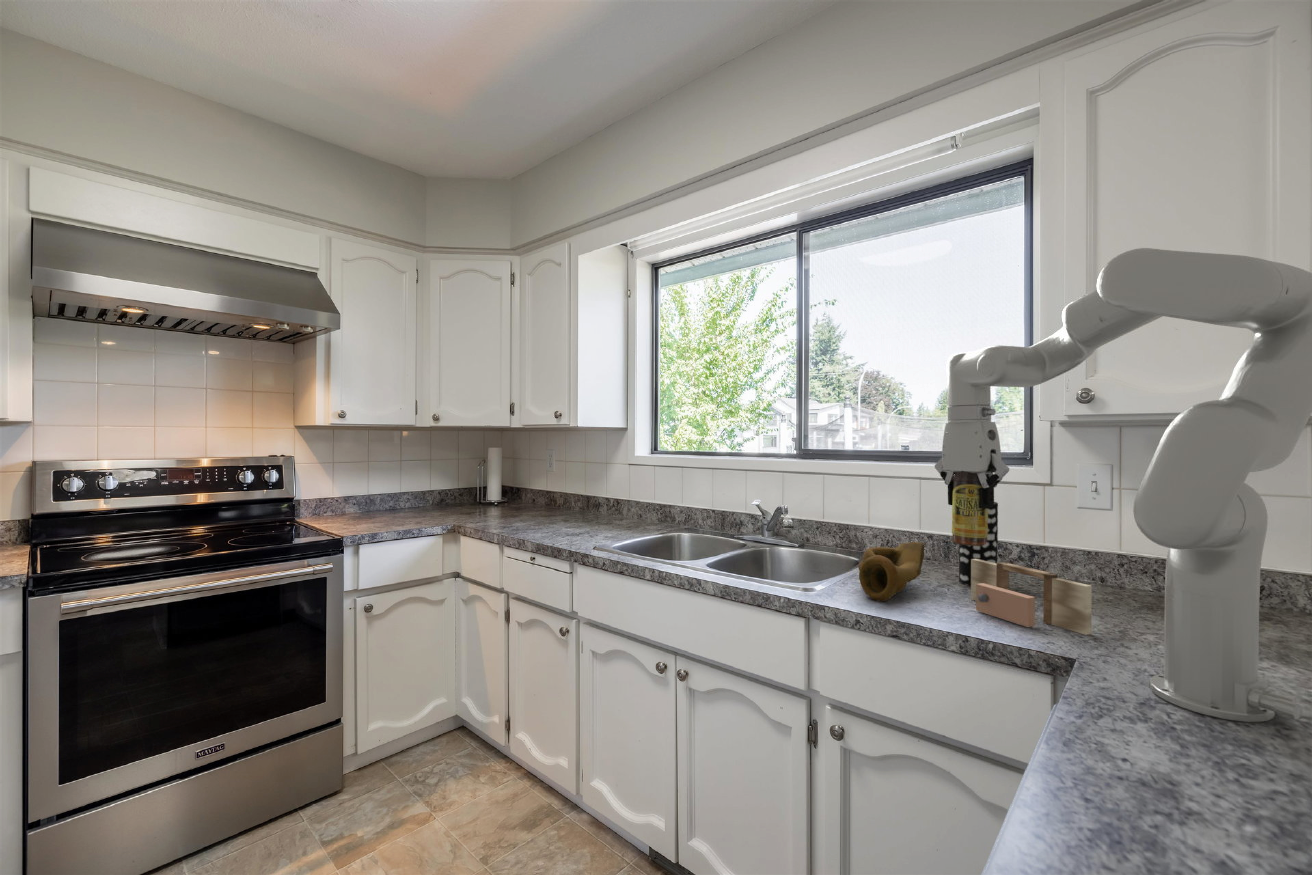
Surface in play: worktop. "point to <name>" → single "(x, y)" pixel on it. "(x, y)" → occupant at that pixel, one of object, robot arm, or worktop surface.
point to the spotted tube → (980, 548)
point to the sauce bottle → (968, 511)
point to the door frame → (1061, 597)
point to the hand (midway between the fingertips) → (970, 505)
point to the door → (1005, 604)
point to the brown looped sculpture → (890, 569)
